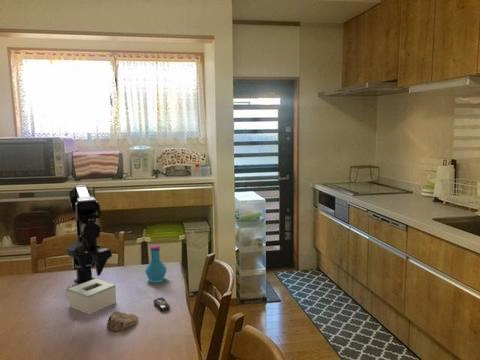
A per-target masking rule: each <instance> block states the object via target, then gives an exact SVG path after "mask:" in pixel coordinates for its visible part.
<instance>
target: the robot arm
mask: <svg viewBox="0 0 480 360" xmlns="http://www.w3.org/2000/svg"><path fill="white" fill-rule="evenodd" d="M68 203H69V204H70V207H71V209H72V210H73V212H74V213H75V214H74V215H75V228H76V229H75V230H76V241H75V242H73V243H71V244H70V245H68V246H67V247H66V248H65V251H66V253H67V256H68V257H71V258H72V268H73V270H74V271H76V278H75V279H73V282H75V283H78V284H82V283H85V282H88V281H90V280H93V279H96V278H95V277H93V273H92V268H94V267H95V271H96V276H97V277H99V276H101V274H102V272H103V270H104V268H105V265H106V263H107V261H108V260H109V259H110V258H111V257H113V252H112V251H113V250H111V249H110V248H105V247H102V248H101V244H98V238H100V234H101V227H100V225H99V224H98V223H97V219H101V216H102V211H101V206H100V203H99V201H97V199H96V198H95V197H94V196H92V195H91V190H90V189H89V187H88V185H86V184H79V185H77V184H76V185H75V186H73V189H71V190H69V192H68Z"/></svg>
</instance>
